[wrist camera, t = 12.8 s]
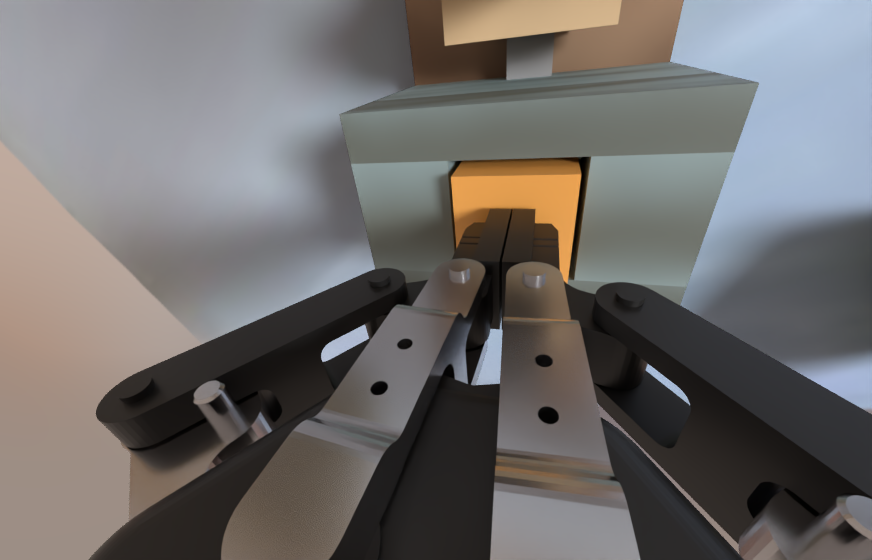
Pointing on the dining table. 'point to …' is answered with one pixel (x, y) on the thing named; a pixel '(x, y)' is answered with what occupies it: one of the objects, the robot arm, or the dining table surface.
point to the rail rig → (554, 142)
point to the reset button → (520, 194)
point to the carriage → (522, 18)
